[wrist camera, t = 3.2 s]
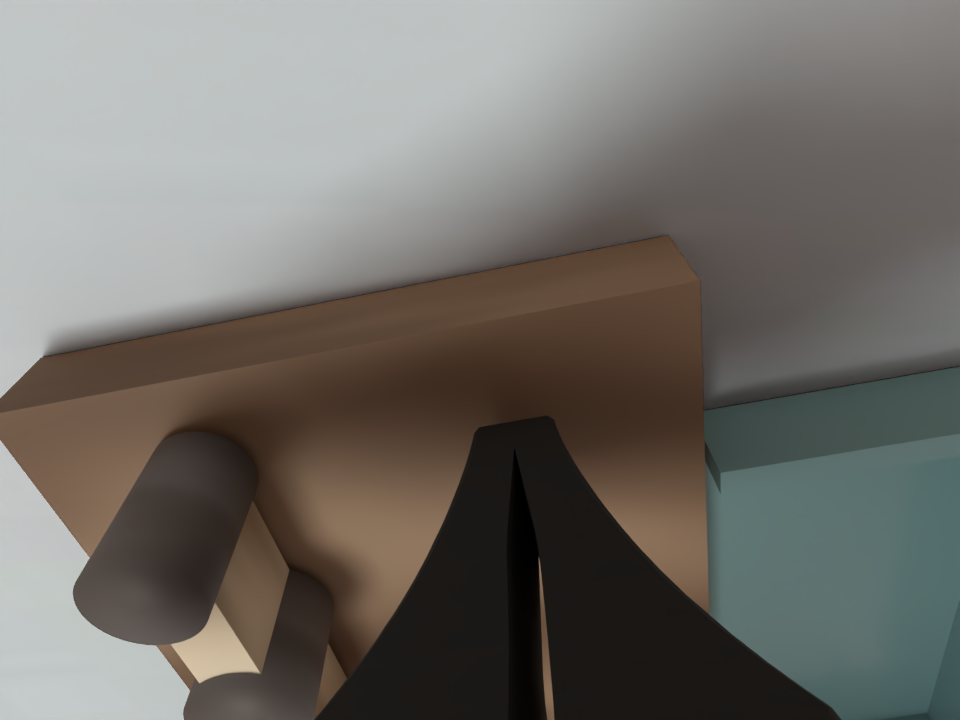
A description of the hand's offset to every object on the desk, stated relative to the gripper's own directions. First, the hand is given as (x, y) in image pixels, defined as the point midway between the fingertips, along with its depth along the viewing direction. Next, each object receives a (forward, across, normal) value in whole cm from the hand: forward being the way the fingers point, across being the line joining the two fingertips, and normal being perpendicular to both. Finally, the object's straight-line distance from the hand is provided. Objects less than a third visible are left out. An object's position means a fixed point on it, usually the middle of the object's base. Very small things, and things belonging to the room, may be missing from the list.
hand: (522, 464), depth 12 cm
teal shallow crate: (+3, -7, +9) cm, 12 cm away
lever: (+1, +6, +6) cm, 9 cm away
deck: (+3, +3, +6) cm, 8 cm away
